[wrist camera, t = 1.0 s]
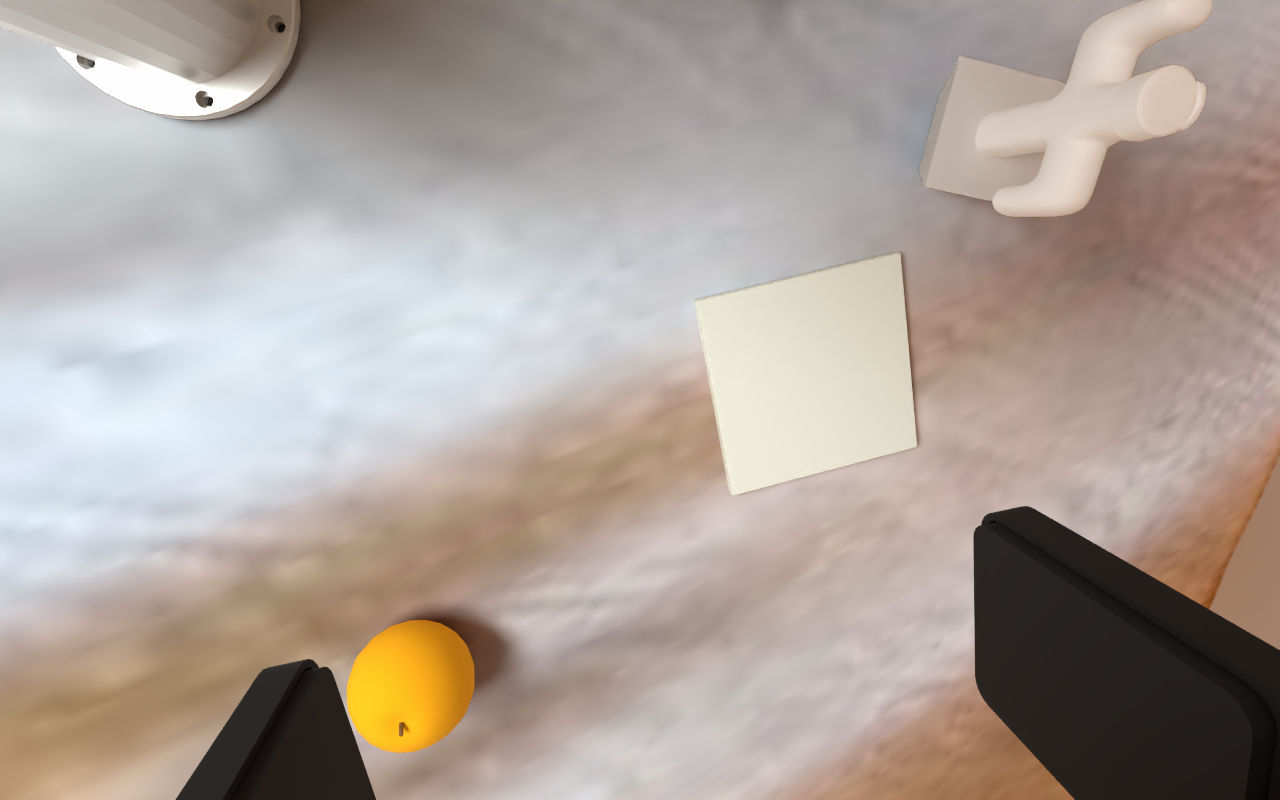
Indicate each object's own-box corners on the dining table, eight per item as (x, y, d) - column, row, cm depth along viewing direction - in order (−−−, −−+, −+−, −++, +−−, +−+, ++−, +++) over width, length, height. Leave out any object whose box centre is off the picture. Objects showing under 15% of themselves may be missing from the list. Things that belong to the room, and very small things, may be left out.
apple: (470, 593, 45) (456, 664, 38) (487, 686, 47) (477, 769, 40) (352, 612, 44) (315, 688, 37) (375, 705, 46) (344, 794, 39)
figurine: (888, 207, 42) (1068, 199, 27) (928, 51, 39) (1148, -46, 25) (983, 226, 43) (1203, 229, 29) (1028, 77, 41) (1290, -1, 27)
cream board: (693, 299, 41) (696, 301, 41) (894, 252, 43) (900, 252, 42) (729, 491, 46) (732, 495, 45) (910, 442, 47) (917, 446, 46)
